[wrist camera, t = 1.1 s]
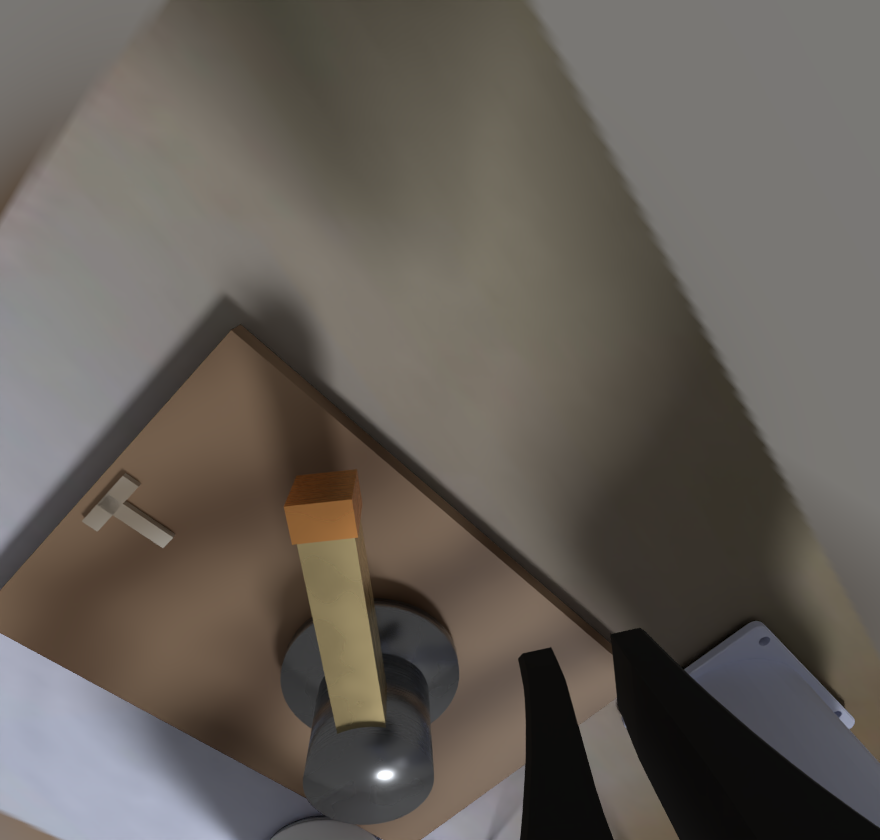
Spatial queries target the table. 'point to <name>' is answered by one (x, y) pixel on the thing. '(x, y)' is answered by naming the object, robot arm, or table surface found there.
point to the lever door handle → (360, 666)
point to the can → (322, 830)
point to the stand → (282, 583)
